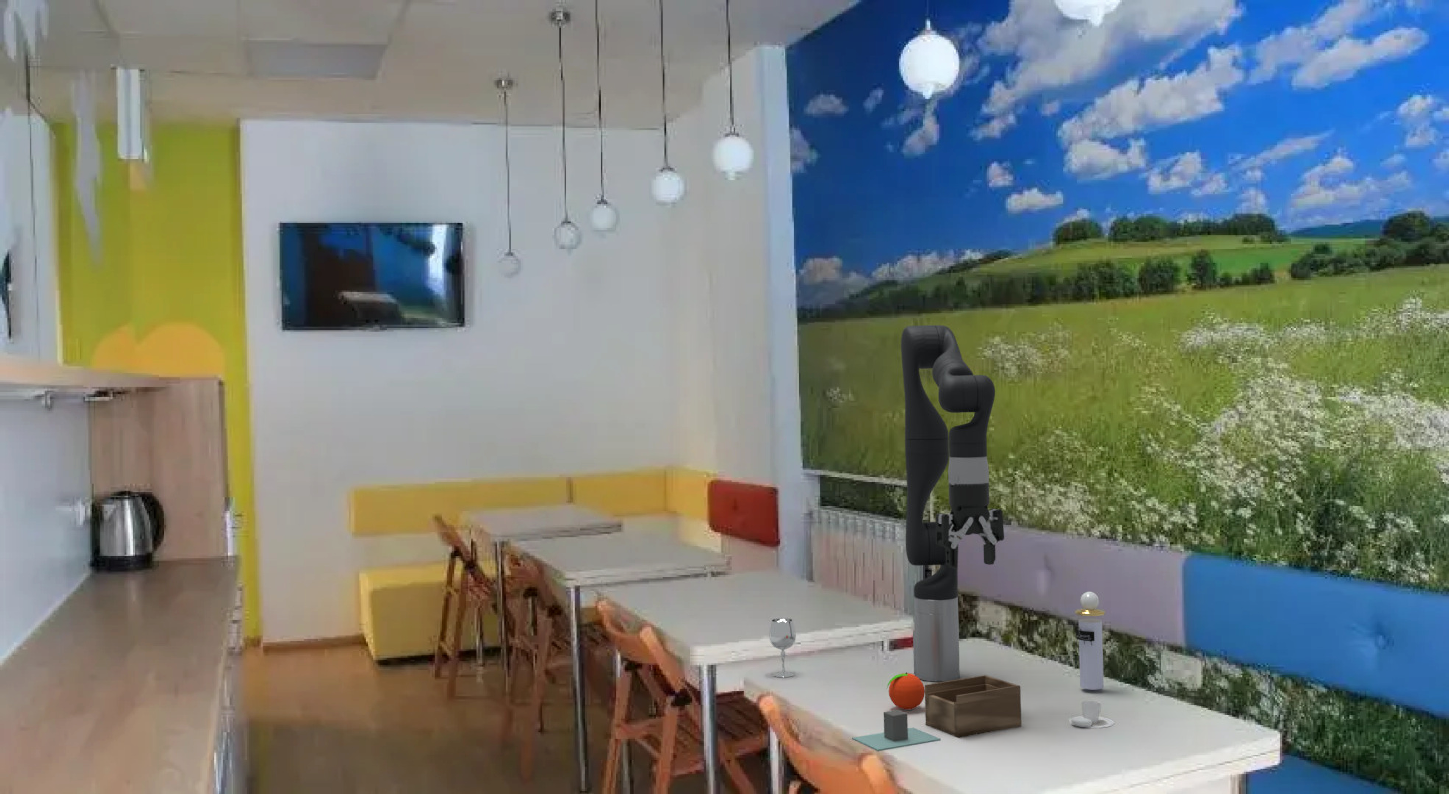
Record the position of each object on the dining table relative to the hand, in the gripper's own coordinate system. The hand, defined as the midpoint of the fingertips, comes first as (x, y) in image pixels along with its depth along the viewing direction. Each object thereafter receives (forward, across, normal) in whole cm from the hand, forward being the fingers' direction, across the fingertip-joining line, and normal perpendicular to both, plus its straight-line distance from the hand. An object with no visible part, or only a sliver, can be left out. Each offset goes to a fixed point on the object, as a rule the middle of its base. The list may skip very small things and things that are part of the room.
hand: (970, 566), depth 232 cm
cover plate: (+29, +22, +6) cm, 37 cm away
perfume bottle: (+28, -31, -2) cm, 42 cm away
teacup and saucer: (+29, -12, +13) cm, 34 cm away
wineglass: (+28, +15, -48) cm, 57 cm away
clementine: (+28, +9, -10) cm, 31 cm away
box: (+28, +5, +6) cm, 29 cm away
